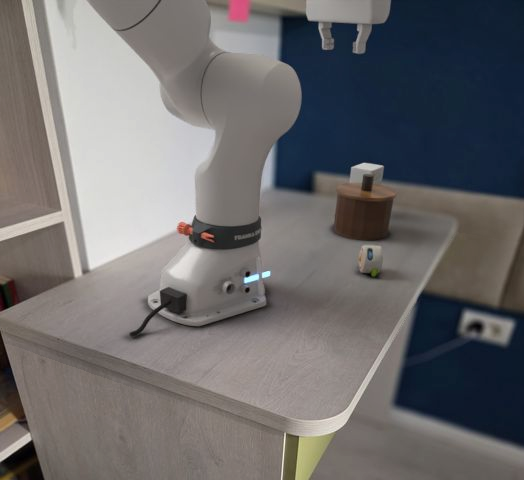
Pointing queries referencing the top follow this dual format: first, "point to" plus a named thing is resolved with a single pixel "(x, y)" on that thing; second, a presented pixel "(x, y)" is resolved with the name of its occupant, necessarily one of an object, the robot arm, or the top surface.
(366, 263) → the roller toy
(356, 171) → the small box
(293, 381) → the top surface
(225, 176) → the robot arm
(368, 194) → the lid
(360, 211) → the round wooden container
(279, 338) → the top surface
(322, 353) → the top surface
